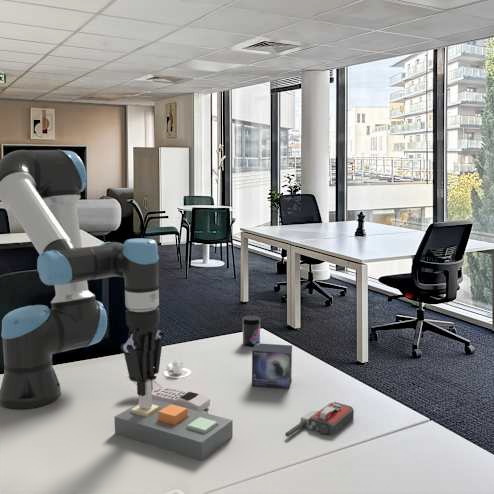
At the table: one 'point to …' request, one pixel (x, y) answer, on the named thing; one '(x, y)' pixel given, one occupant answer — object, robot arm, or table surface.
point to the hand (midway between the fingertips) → (145, 406)
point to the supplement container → (251, 330)
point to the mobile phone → (179, 397)
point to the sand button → (145, 410)
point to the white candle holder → (176, 368)
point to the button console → (175, 431)
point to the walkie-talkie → (326, 419)
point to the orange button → (172, 414)
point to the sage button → (202, 425)
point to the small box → (272, 365)
